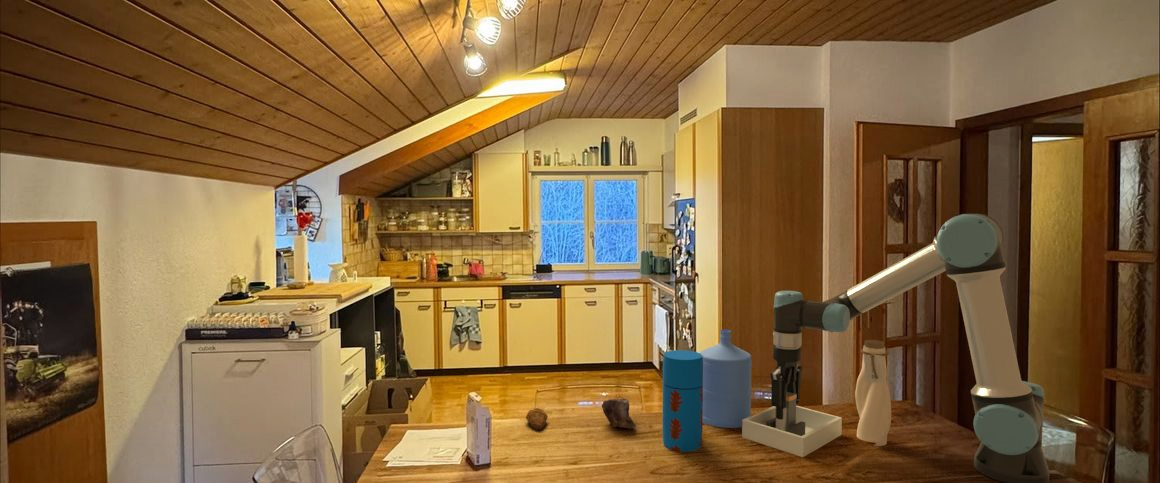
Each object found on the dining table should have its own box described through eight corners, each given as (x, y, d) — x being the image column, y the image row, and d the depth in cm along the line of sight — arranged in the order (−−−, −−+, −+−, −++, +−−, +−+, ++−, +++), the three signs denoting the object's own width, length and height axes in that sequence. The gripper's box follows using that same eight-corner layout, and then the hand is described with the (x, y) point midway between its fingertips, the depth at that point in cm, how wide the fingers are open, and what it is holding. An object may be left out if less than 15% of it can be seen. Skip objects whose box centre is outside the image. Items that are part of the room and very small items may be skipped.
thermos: (656, 447, 166) (657, 357, 164) (670, 433, 176) (670, 348, 174) (695, 454, 161) (696, 361, 159) (707, 440, 170) (707, 352, 169)
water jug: (761, 428, 180) (762, 334, 178) (713, 433, 176) (714, 338, 174) (734, 410, 195) (735, 324, 193) (689, 415, 191) (690, 327, 189)
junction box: (841, 438, 172) (841, 417, 171) (802, 460, 157) (803, 438, 157) (782, 421, 185) (783, 402, 185) (742, 440, 170) (742, 419, 170)
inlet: (805, 434, 172) (805, 422, 172) (791, 441, 167) (791, 429, 167) (779, 426, 178) (780, 415, 178) (765, 433, 173) (765, 421, 172)
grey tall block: (796, 428, 172) (796, 394, 172) (788, 432, 169) (789, 397, 169) (782, 424, 175) (783, 390, 175) (774, 428, 172) (775, 393, 172)
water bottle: (895, 450, 163) (899, 347, 161) (859, 447, 165) (862, 346, 163) (884, 435, 173) (887, 339, 171) (850, 433, 175) (853, 337, 173)
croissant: (524, 416, 191) (524, 401, 190) (545, 415, 192) (545, 400, 191) (527, 433, 177) (526, 416, 177) (550, 431, 178) (550, 415, 178)
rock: (633, 423, 188) (600, 422, 188) (633, 394, 188) (601, 394, 188) (636, 431, 176) (602, 430, 176) (637, 401, 177) (602, 400, 177)
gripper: (790, 339, 179) (788, 416, 181) (758, 348, 168) (757, 431, 169) (814, 343, 174) (812, 423, 175) (783, 353, 162) (781, 439, 164)
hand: (785, 427), depth 172 cm, fingers closed on grey tall block, 4 cm apart
